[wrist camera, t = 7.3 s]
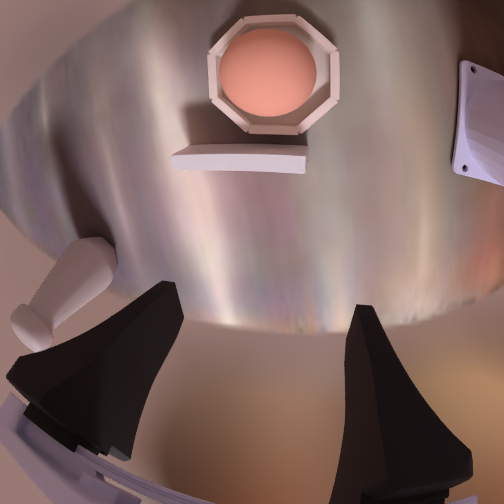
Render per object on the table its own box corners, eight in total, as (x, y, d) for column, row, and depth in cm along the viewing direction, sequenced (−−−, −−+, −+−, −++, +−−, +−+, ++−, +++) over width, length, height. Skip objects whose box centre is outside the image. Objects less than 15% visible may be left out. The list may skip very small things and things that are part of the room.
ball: (314, 38, 12) (317, 19, 8) (315, 114, 15) (317, 123, 11) (231, 39, 13) (203, 24, 9) (234, 113, 16) (207, 122, 12)
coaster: (336, 21, 12) (337, 16, 11) (336, 134, 16) (338, 138, 15) (214, 25, 13) (206, 21, 12) (219, 131, 17) (212, 134, 16)
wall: (307, 145, 17) (305, 156, 14) (307, 160, 17) (305, 173, 15) (190, 144, 18) (170, 155, 16) (192, 158, 19) (172, 170, 16)
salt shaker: (76, 228, 26) (-8, 305, 15) (112, 227, 24) (18, 319, 14) (95, 273, 29) (26, 353, 18) (131, 276, 27) (58, 372, 17)
